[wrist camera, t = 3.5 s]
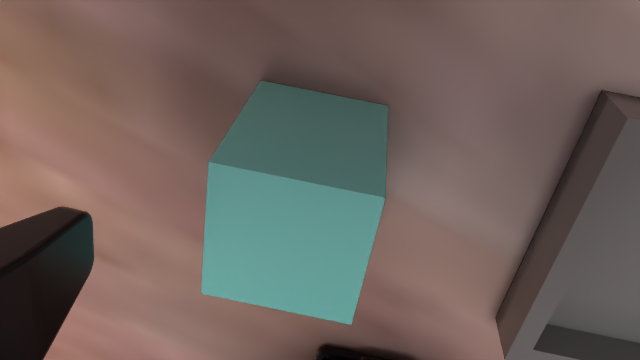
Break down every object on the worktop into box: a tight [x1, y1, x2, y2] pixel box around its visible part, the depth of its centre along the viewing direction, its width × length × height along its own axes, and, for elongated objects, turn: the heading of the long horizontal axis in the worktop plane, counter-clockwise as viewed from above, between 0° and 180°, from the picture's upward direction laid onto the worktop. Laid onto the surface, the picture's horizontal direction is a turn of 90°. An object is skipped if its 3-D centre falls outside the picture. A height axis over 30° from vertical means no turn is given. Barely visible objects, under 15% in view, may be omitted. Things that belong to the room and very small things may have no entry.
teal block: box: [201, 81, 388, 325], centre depth 17 cm, size 4×4×6 cm
